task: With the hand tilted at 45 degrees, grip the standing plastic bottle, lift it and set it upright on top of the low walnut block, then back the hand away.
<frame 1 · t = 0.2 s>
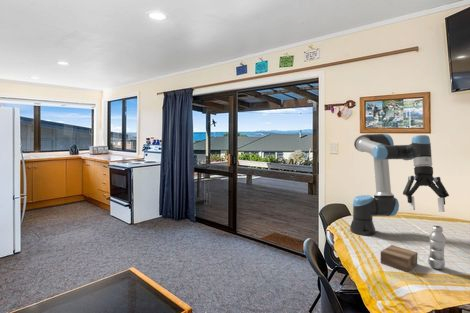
hand: (427, 211, 129), 27 cm above the table, tool tilted 15°, fingers open, 13 cm apart
plastic bottle: (436, 268, 130), on the table
walnut block: (398, 263, 135), on the table
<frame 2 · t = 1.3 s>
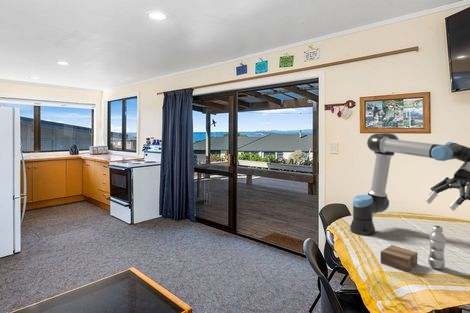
hand: (438, 205, 134), 29 cm above the table, tool tilted 45°, fingers open, 13 cm apart
nothing on the table moved.
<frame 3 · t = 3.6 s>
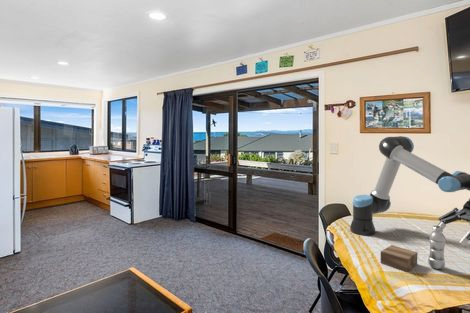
hand: (447, 238, 128), 14 cm above the table, tool tilted 45°, fingers open, 13 cm apart
nothing on the table moved.
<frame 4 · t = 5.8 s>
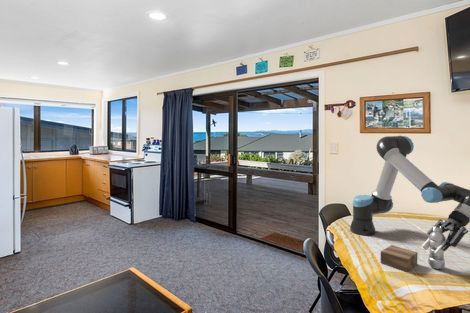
hand: (430, 251, 129), 8 cm above the table, tool tilted 45°, fingers closed on plastic bottle, 6 cm apart
plastic bottle: (436, 268, 130), on the table, touching gripper
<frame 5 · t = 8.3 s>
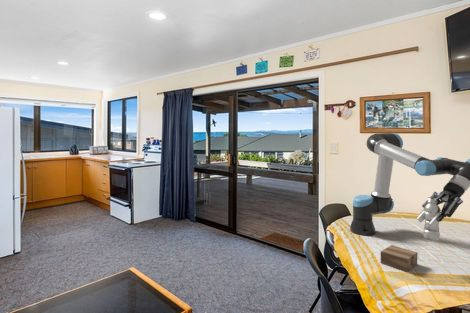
hand: (425, 222, 128), 22 cm above the table, tool tilted 45°, fingers closed on plastic bottle, 6 cm apart
plastic bottle: (431, 240, 129), point 13 cm above the table, touching gripper
when the fingers open (16 cm above the table, at t = 10.9 s): plastic bottle drops 1 cm, resting on walnut block.
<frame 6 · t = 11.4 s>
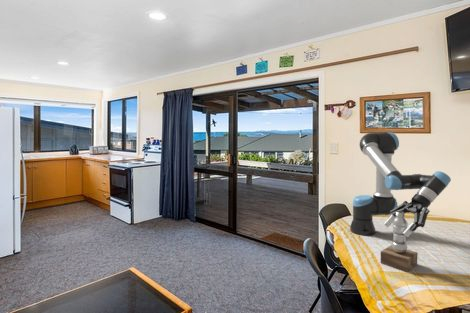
hand: (394, 230, 133), 17 cm above the table, tool tilted 45°, fingers open, 13 cm apart
plastic bottle: (399, 252, 134), point 6 cm above the table, touching walnut block
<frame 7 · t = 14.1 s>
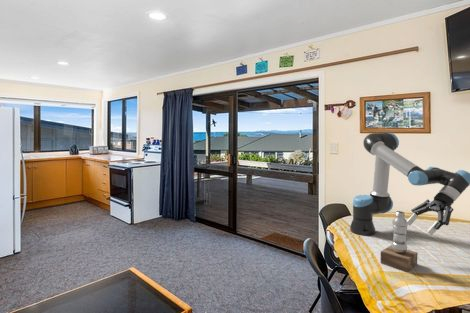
hand: (418, 228, 135), 17 cm above the table, tool tilted 45°, fingers open, 13 cm apart
nothing on the table moved.
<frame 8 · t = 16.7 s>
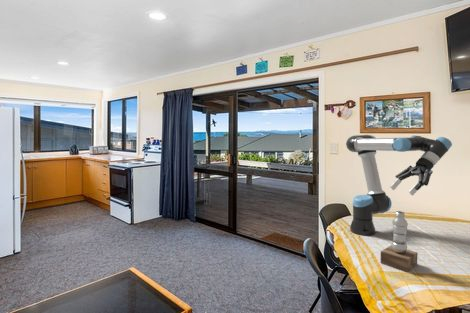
hand: (400, 191, 145), 34 cm above the table, tool tilted 45°, fingers open, 13 cm apart
nothing on the table moved.
at the end: plastic bottle inside the target area on the walnut block (0.1 cm from its centre), point 5.8 cm above the walnut block's base; plastic bottle tilted 0°; the gripper is holding nothing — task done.
